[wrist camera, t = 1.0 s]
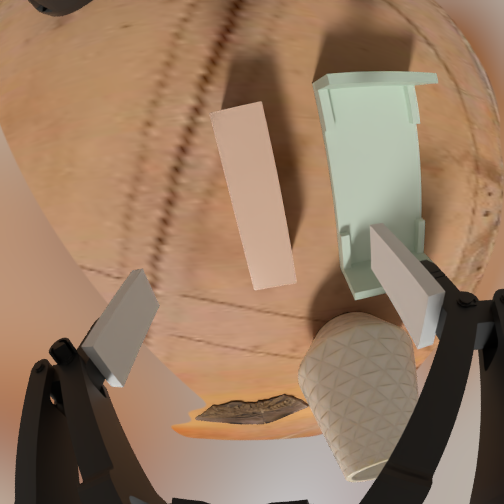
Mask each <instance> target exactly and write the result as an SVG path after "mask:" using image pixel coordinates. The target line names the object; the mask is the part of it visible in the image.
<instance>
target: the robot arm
mask: <svg viewBox="0 0 504 504" xmlns="http://www.w3.org/2000/svg"><path fill="white" fill-rule="evenodd" d="M28 1H29V2H30V3H31V4H32V5H33V6H34V7H35V8H36V9H37V10H38V11H39V12H41V13H43V14H47V15H50V16H63V15H67V14H70V13H72V12H74V11H76V10H78V9H80V8H82V7H83V6H85V5H87V4H88V3H89V2H91V1H92V0H28ZM370 242H371V269H372V271H373V272H374V274H375V276H376V277H377V279H378V280H379V282H380V284H381V285H382V287H383V288H384V290H385V292H386V293H387V295H388V297H389V299H390V300H391V302H392V304H393V305H394V307H395V309H396V310H397V312H398V314H399V316H400V318H401V319H402V321H403V323H404V325H405V326H406V328H407V330H408V332H409V334H410V336H411V337H412V339H413V341H414V343H415V345H416V347H417V349H420V348H423V347H426V346H429V345H432V344H433V342H434V338H435V335H437V337H438V338H439V340H440V341H439V345H438V348H437V351H436V354H435V357H434V360H433V363H432V366H431V369H430V371H429V374H428V377H427V379H426V382H425V385H424V387H423V390H422V392H421V395H420V397H419V399H418V402H417V404H416V406H415V408H414V411H413V413H412V415H411V417H410V419H409V421H408V424H407V426H406V428H405V430H404V432H403V434H402V435H401V437H400V439H399V441H398V443H397V445H396V447H395V449H394V450H393V452H392V454H391V456H390V457H389V459H388V461H387V463H386V464H385V466H384V467H383V469H382V471H381V472H380V474H379V475H378V477H377V479H376V480H375V482H374V483H373V485H372V486H371V488H370V489H369V491H368V492H367V494H366V495H365V496H364V498H363V499H362V500H361V502H360V503H359V504H422V503H423V502H424V500H425V498H426V496H427V494H428V492H429V490H430V488H431V485H432V478H433V474H434V472H435V470H436V468H437V466H438V463H439V461H440V459H441V457H442V454H443V452H444V450H445V447H446V445H447V442H448V440H449V437H450V435H451V431H452V429H453V426H454V423H455V420H456V417H457V414H458V411H459V408H460V405H461V401H462V398H463V394H464V391H465V386H466V383H467V379H468V375H469V370H470V366H471V361H472V356H473V350H477V349H478V353H479V365H480V379H481V380H480V381H481V423H480V424H481V425H480V439H479V451H478V458H477V467H476V472H475V478H474V484H473V489H472V494H471V499H470V504H504V289H499V290H497V291H496V292H495V294H494V296H493V300H484V301H479V300H478V298H477V297H476V296H475V295H473V294H472V293H469V292H463V291H461V292H460V291H459V290H458V289H457V287H456V286H455V285H454V284H453V283H452V282H451V281H450V280H449V278H448V277H447V276H445V274H444V273H443V272H442V271H441V270H440V269H439V268H438V267H437V265H436V264H434V263H432V262H430V261H428V260H427V259H426V260H422V261H419V260H418V259H417V258H416V257H415V256H414V255H413V254H412V253H411V252H410V251H409V250H408V249H407V247H406V246H405V245H404V244H403V243H402V242H401V241H400V240H399V239H398V238H397V237H396V236H395V235H394V234H393V233H392V232H391V231H390V230H389V229H388V228H387V227H386V226H385V225H384V224H383V223H378V224H373V225H370ZM159 306H160V305H159V303H158V301H157V299H156V297H155V295H154V292H153V290H152V288H151V286H150V284H149V282H148V279H147V277H146V275H145V273H144V270H143V269H138V270H133V271H132V272H131V273H130V275H129V276H128V277H127V279H126V280H125V281H124V283H123V284H122V286H121V287H120V289H119V290H118V291H117V293H116V294H115V296H114V297H113V299H112V300H111V301H110V303H109V304H108V306H107V307H106V309H105V310H104V312H103V313H102V315H101V317H100V318H98V319H97V320H96V321H95V322H94V324H93V325H92V327H91V328H90V330H89V331H88V333H87V335H86V336H85V338H84V339H83V341H82V342H81V344H80V346H79V347H78V349H77V350H76V349H75V347H74V346H73V345H72V343H71V342H70V340H69V339H68V338H62V339H59V340H58V341H56V342H55V343H54V344H53V345H52V346H51V348H50V350H49V354H50V355H51V356H52V357H53V359H54V360H55V362H56V363H57V365H53V366H52V365H51V364H50V363H49V361H48V360H47V359H42V360H40V361H38V362H37V363H35V365H34V367H33V368H32V370H31V374H30V378H29V382H28V387H27V391H26V395H25V400H24V405H23V410H22V416H21V423H20V429H19V437H18V445H17V455H16V472H15V503H14V504H167V503H166V502H165V501H164V500H163V499H162V498H161V497H160V496H159V495H158V494H157V493H156V491H155V490H154V488H153V487H152V485H151V483H150V481H149V480H148V478H147V476H146V474H145V473H144V471H143V469H142V467H141V465H140V464H139V462H138V460H137V458H136V456H135V454H134V452H133V450H132V448H131V446H130V444H129V442H128V440H127V437H126V435H125V433H124V431H123V429H122V426H121V424H120V422H119V419H118V417H117V415H116V412H115V410H114V407H113V405H112V402H111V399H110V397H109V394H108V391H107V389H106V387H105V386H104V385H103V382H104V380H105V379H106V380H107V382H108V383H109V384H110V385H111V386H112V387H124V384H125V382H126V380H127V377H128V375H129V373H130V370H131V368H132V366H133V363H134V361H135V358H136V356H137V354H138V352H139V349H140V347H141V345H142V343H143V340H144V338H145V336H146V334H147V332H148V329H149V327H150V325H151V323H152V321H153V318H154V316H155V314H156V312H157V310H158V308H159ZM50 396H51V397H52V398H53V399H54V404H53V403H52V402H51V400H50ZM78 466H79V470H80V472H81V476H82V479H83V483H81V484H80V483H79V473H78ZM171 504H209V503H206V502H203V501H194V500H186V499H178V498H172V503H171ZM269 504H309V502H308V500H299V501H289V502H275V503H269Z"/></svg>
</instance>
